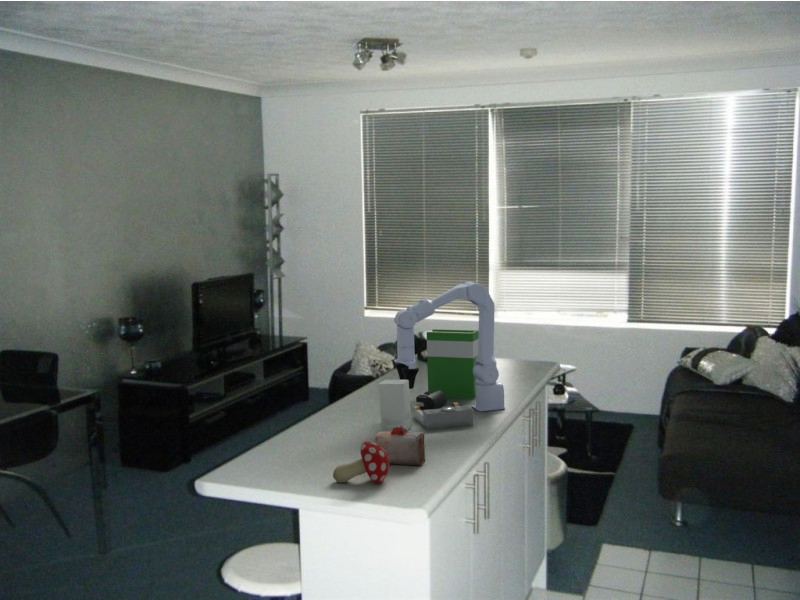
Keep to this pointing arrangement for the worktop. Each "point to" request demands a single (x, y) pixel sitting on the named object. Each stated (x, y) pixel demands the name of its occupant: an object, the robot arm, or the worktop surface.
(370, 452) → the decorative mushroom
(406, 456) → the food item
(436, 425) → the motor housing with clip cradle
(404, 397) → the skincare box
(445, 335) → the green box
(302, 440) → the worktop surface
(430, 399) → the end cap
